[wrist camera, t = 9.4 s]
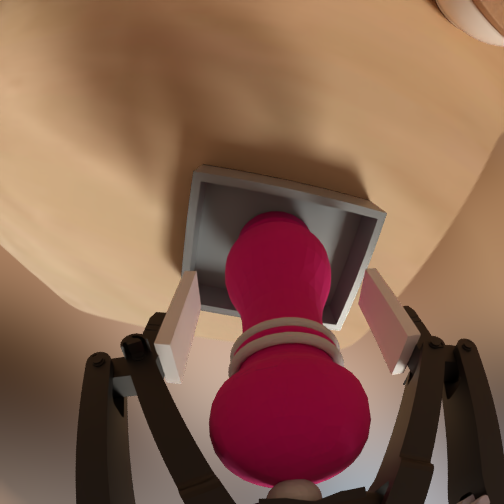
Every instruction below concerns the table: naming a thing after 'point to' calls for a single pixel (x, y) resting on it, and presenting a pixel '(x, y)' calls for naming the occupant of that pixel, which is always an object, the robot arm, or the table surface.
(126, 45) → the table surface
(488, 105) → the table surface
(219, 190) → the bin
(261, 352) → the pepper mill
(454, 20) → the lidded jar
